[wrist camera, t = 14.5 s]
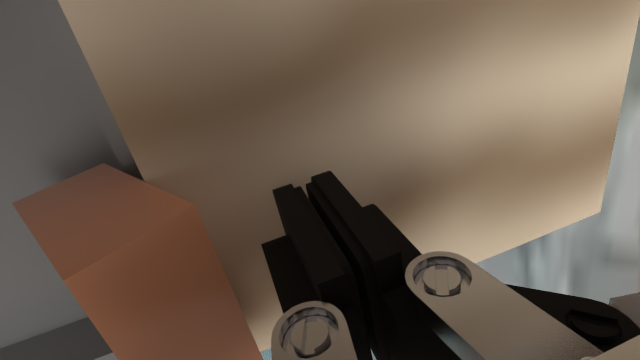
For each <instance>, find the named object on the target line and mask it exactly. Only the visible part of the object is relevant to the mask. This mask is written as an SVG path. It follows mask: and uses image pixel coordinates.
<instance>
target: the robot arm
mask: <svg viewBox="0 0 640 360" xmlns="http://www.w3.org/2000/svg"><path fill="white" fill-rule="evenodd" d="M306 190H307V194H308V197H307V195H306V194H305V192H304V191H303V189H302V187H301V186H298V187H295V188H294V187H293V185H292V184H288V185H285V186H282V187H279V188H276V189H273V190H272V191H273V195H274V199H275V202H276V205H277V208H278V212H279V215H280V218H281V221H282V225H283V228H284V231H285V234H286V235H285V236H282V237H279V238H276V239H274V240H271V241H268V242H265V243H263V244H261V246H262V249H263V252H264V255H265V258H266V261H267V264H268V268H269V271H270V274H271V277H272V280H273V283H274V286H275V289H276V293H277V296H278V299H279V302H280V305H281V308H282V311H283V315H282V316H281V317H280V318H279V320H278V321H277V322H276V324H275V326H274V328H273V331H272V337H271V350H272V360H373V359H372V354H371V350H372V352H373V354H374V355H375V357H376V359H377V360H640V292H639V293H634V294H629V295H624V296H619V297H615V298H610V301H609V304H608V305H607V304H605V303H603V302H599V301H595V300H592V299H587V298H582V297H576V296H570V295H564V294H559V293H553V292H547V291H542V290H536V289H530V288H524V287H519V286H513V285H507V284H504V283H502V282H501V281H499V280H498V279H497V278H495V277H494V276H492V275H491V274H489V273H488V272H486V271H485V270H483V269H482V268H481V267H479V266H478V265H476V264H475V263H473V262H472V261H470V260H469V259H467V258H465V257H463V256H461V255H459V254H456V253H452V252H445V251H435V252H428V253H425V254H423V255H422V253H421V252H420V251H419V250H418V249H417V248H416V247H415V246H414V245H413V244H412V243H411V242H410V241H409V240H408V239H407V238H406V236H405V235H404V234H403V233H402V232H401V231H400V230H399V229H398V228H397V227H396V226H395V225H394V224H393V223H392V222H391V221H390V219H389V218H388V217H387V216H386V215H385V214H384V213H383V212H382V211H381V210H380V209H379V208H378V207H377V206H376V205H375V204H369V205H367V206H364V207H362V206H361V205H360V204H359V203H358V202H357V200H356V199H355V198H354V197H353V196H352V195H351V194H350V192H349V191H348V190H347V189H346V188H345V187H344V185H343V184H342V183H341V182H340V181H339V180H338V179H337V177H336V176H335V175H334V174H333V173H332V172H331V171H326V172H324V173H321V174H318V175H315V176H312V177H311V182H310V183H307V184H306ZM370 348H371V349H370Z"/></svg>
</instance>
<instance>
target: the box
mask: <svg viewBox="0 0 640 360" xmlns="http://www.w3.org/2000/svg"><path fill="white" fill-rule="evenodd" d="M102 163H104V164H107V165H109V166H111V167H113V168H115V169H118V170H120V171H122V172H124V173H126V174H129V175H131V176H133V177H135V178H138V179H140V180H142V181H144V179H143V177H142V175H141V173H140V171H139V169H138V167H137V165H136V163H135V161H134V158H133V156H132V154H131V152H130V150H129V148H128V146H127V144H126V142H125V140H124V138H123V135H122V133H121V131H120V129H119V127H118V125H117V123H116V121H115V119H114V117H113V115H112V112H111V110H110V108H109V106H108V104H107V102H106V100H105V98H104V96H103V94H102V92H101V89H100V87H99V85H98V83H97V81H96V79H95V77H94V75H93V73H92V71H91V69H90V67H89V64H88V62H87V60H86V58H85V56H84V54H83V52H82V50H81V48H80V46H79V44H78V41H77V39H76V37H75V35H74V33H73V31H72V29H71V27H70V25H69V23H68V21H67V18H66V16H65V14H64V12H63V10H62V8H61V6H60V4H59V2H58V0H0V360H118V359H117V357H116V356H115V354H114V353H113V351H112V350H111V349H110V347H109V346H108V344H107V343H106V341H105V340H104V339H103V337H102V336H101V334H100V333H99V331H98V330H97V329H96V327H95V326H94V324H93V323H92V321H91V320H90V319H89V317H88V316H87V314H86V313H85V311H84V310H83V309H82V307H81V306H80V304H79V303H78V301H77V300H76V299H75V297H74V296H73V294H72V293H71V291H70V290H69V289H68V287H67V286H66V284H65V283H64V281H63V280H62V278H61V277H60V275H59V274H58V272H57V271H56V269H55V268H54V266H53V265H52V263H51V262H50V260H49V259H48V257H47V256H46V254H45V253H44V251H43V250H42V248H41V247H40V245H39V244H38V242H37V241H36V239H35V238H34V236H33V235H32V233H31V232H30V230H29V229H28V227H27V226H26V224H25V222H24V221H23V219H22V218H21V216H20V215H19V213H18V212H17V210H16V209H15V207H14V206H13V204H12V203H14V202H16V201H18V200H20V199H23V198H25V197H27V196H29V195H32V194H34V193H36V192H39V191H41V190H43V189H45V188H48V187H50V186H52V185H54V184H57V183H59V182H61V181H64V180H66V179H68V178H70V177H73V176H75V175H77V174H79V173H82V172H84V171H86V170H89V169H91V168H93V167H95V166H98V165H100V164H102ZM144 182H145V181H144Z"/></svg>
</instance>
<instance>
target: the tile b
mask: <svg viewBox="0 0 640 360" xmlns="http://www.w3.org/2000/svg"><path fill="white" fill-rule="evenodd" d="M12 204H13V206H14V207H15V209H16V210H17V212H18V213H19V215H20V216H21V218H22V219H23V221H24V222H25V224H26V226H27V227H28V229H29V230H30V232H31V233H32V235H33V236H34V238H35V239H36V241H37V242H38V244H39V245H40V247H41V248H42V250H43V251H44V253H45V254H46V256H47V257H48V259H49V260H50V262H51V263H52V265H53V266H54V268H55V269H56V271H57V272H58V274H59V275H60V277H61V278H62V280H63V281H64V283H65V284H66V286H67V287H68V289H69V290H70V291H71V293H72V294H73V296H74V297H75V299H76V300H77V301H78V303H79V304H80V306H81V307H82V309H83V310H84V311H85V313H86V314H87V316H88V317H89V319H90V320H91V321H92V323H93V324H94V326H95V327H96V329H97V330H98V331H99V333H100V334H101V336H102V337H103V339H104V340H105V341H106V343H107V344H108V346H109V347H110V349H111V350H112V351H113V353H114V354H115V356H116V357H117V359H118V360H263V358H262V355H261V353H260V351H259V349H258V346H257V344H256V342H255V340H254V337H253V335H252V333H251V331H250V328H249V326H248V324H247V322H246V319H245V317H244V315H243V313H242V310H241V308H240V306H239V303H238V301H237V299H236V297H235V294H234V292H233V290H232V288H231V285H230V283H229V281H228V279H227V276H226V274H225V272H224V270H223V267H222V265H221V263H220V260H219V258H218V256H217V254H216V251H215V249H214V247H213V245H212V242H211V240H210V238H209V236H208V233H207V231H206V229H205V227H204V224H203V222H202V220H201V218H200V215H199V213H198V211H197V208H196V206H195V204H193V203H191V202H188V201H186V200H184V199H182V198H179V197H177V196H175V195H173V194H171V193H168V192H166V191H164V190H162V189H160V188H157V187H155V186H153V185H151V184H149V183H146V182H144V181H142V180H140V179H138V178H135V177H133V176H131V175H129V174H126V173H124V172H122V171H120V170H118V169H115V168H113V167H111V166H109V165H107V164H104V163H102V164H100V165H98V166H95V167H93V168H91V169H89V170H86V171H84V172H82V173H79V174H77V175H75V176H73V177H70V178H68V179H66V180H64V181H61V182H59V183H57V184H54V185H52V186H50V187H48V188H45V189H43V190H41V191H39V192H36V193H34V194H32V195H29V196H27V197H25V198H23V199H20V200H18V201H16V202H14V203H12Z"/></svg>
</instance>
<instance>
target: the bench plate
mask: <svg viewBox="0 0 640 360" xmlns="http://www.w3.org/2000/svg"><path fill="white" fill-rule="evenodd" d="M58 2H59V4H60V6H61V8H62V10H63V12H64V14H65V16H66V18H67V21H68V23H69V25H70V27H71V29H72V31H73V33H74V35H75V37H76V39H77V41H78V44H79V46H80V48H81V50H82V52H83V54H84V56H85V58H86V60H87V62H88V64H89V67H90V69H91V71H92V73H93V75H94V77H95V79H96V81H97V83H98V85H99V87H100V89H101V92H102V94H103V96H104V98H105V100H106V102H107V104H108V106H109V108H110V110H111V112H112V115H113V117H114V119H115V121H116V123H117V125H118V127H119V129H120V131H121V133H122V135H123V138H124V140H125V142H126V144H127V146H128V148H129V150H130V152H131V154H132V156H133V158H134V161H135V163H136V165H137V167H138V169H139V171H140V173H141V175H142V177H143V179H144V181H145V182H146V183H149V184H151V185H153V186H155V187H157V188H160V189H162V190H164V191H166V192H168V193H171V194H173V195H175V196H177V197H179V198H182V199H184V200H186V201H188V202H191V203H193V204H195V206H196V208H197V211H198V213H199V215H200V218H201V220H202V222H203V224H204V227H205V229H206V231H207V233H208V236H209V238H210V240H211V242H212V245H213V247H214V249H215V251H216V254H217V256H218V258H219V260H220V263H221V265H222V267H223V270H224V272H225V274H226V276H227V279H228V281H229V283H230V285H231V288H232V290H233V292H234V294H235V297H236V299H237V301H238V303H239V306H240V308H241V310H242V313H243V315H244V317H245V319H246V322H247V324H248V326H249V328H250V331H251V333H252V335H253V337H254V340H255V342H256V344H257V346H258V349H259V351H260V352H262V351H264V350H267V349H269V348H271V337H272V331H273V328H274V326H275V324H276V322H277V321H278V320H279V318H280V317H281V316H282V315H283V311H282V308H281V305H280V302H279V299H278V296H277V293H276V289H275V286H274V283H273V280H272V277H271V274H270V271H269V268H268V264H267V261H266V258H265V255H264V252H263V249H262V246H261V244H263V243H265V242H268V241H271V240H274V239H276V238H279V237H282V236H285V235H286V234H285V231H284V228H283V225H282V221H281V218H280V215H279V212H278V208H277V205H276V202H275V199H274V195H273V191H272V190H273V189H276V188H279V187H282V186H285V185H288V184H292V185H293V187H294V188H295V187H298V186H301V187H302V189H303V191H304V192H305V194H306V195H307V197H308V194H307V190H306V184H307V183H310V182H311V177H312V176H315V175H318V174H321V173H324V172H326V171H331V172H332V173H333V174H334V175H335V176H336V177H337V179H338V180H339V181H340V182H341V183H342V184H343V185H344V187H345V188H346V189H347V190H348V191H349V192H350V194H351V195H352V196H353V197H354V198H355V199H356V200H357V202H358V203H359V204H360V205H361V206H362V207H364V206H367V205H369V204H375V205H376V206H377V207H378V208H379V209H380V210H381V211H382V212H383V213H384V214H385V215H386V216H387V217H388V218H389V219H390V221H391V222H392V223H393V224H394V225H395V226H396V227H397V228H398V229H399V230H400V231H401V232H402V233H403V234H404V235H405V236H406V238H407V239H408V240H409V241H410V242H411V243H412V244H413V245H414V246H415V247H416V248H417V249H418V250H419V251H420V252H421V253H422V255H423V254H425V253H428V252H435V251H445V252H452V253H456V254H459V255H461V256H463V257H465V258H467V259H469V260H470V261H472V262H473V263H478V262H480V261H483V260H485V259H487V258H490V257H492V256H495V255H497V254H500V253H502V252H504V251H507V250H509V249H512V248H514V247H517V246H519V245H521V244H524V243H526V242H529V241H531V240H534V239H536V238H538V237H541V236H543V235H546V234H548V233H551V232H553V231H555V230H558V229H560V228H563V227H565V226H568V225H570V224H572V223H575V222H577V221H580V220H582V219H584V218H587V217H589V216H592V215H594V214H597V213H599V212H600V210H601V205H602V200H603V195H604V190H605V185H606V180H607V175H608V170H609V165H610V160H611V155H612V150H613V145H614V140H615V135H616V130H617V125H618V120H619V115H620V110H621V105H622V100H623V95H624V90H625V85H626V80H627V75H628V70H629V65H630V60H631V55H632V50H633V45H634V40H635V35H636V30H637V25H638V20H639V15H640V0H58Z"/></svg>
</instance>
